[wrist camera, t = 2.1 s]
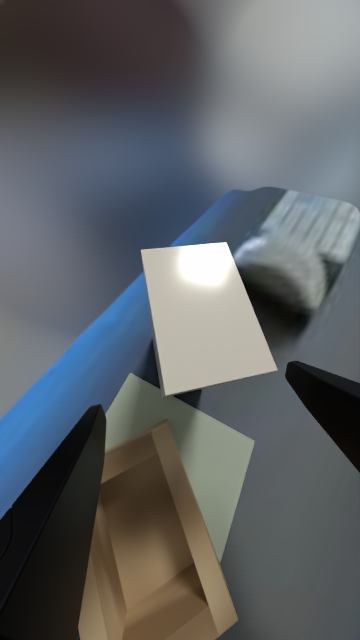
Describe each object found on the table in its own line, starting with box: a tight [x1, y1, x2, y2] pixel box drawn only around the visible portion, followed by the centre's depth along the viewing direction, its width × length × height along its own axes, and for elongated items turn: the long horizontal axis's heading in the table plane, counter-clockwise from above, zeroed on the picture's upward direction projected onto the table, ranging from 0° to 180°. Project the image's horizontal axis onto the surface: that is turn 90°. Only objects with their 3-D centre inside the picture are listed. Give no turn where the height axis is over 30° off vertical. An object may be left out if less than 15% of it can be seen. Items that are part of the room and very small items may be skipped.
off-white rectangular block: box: [141, 242, 277, 398], centre depth 13 cm, size 6×4×12 cm, turn 12°
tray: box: [78, 419, 238, 640], centre depth 12 cm, size 10×8×4 cm
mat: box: [105, 373, 255, 563], centre depth 15 cm, size 14×13×1 cm
